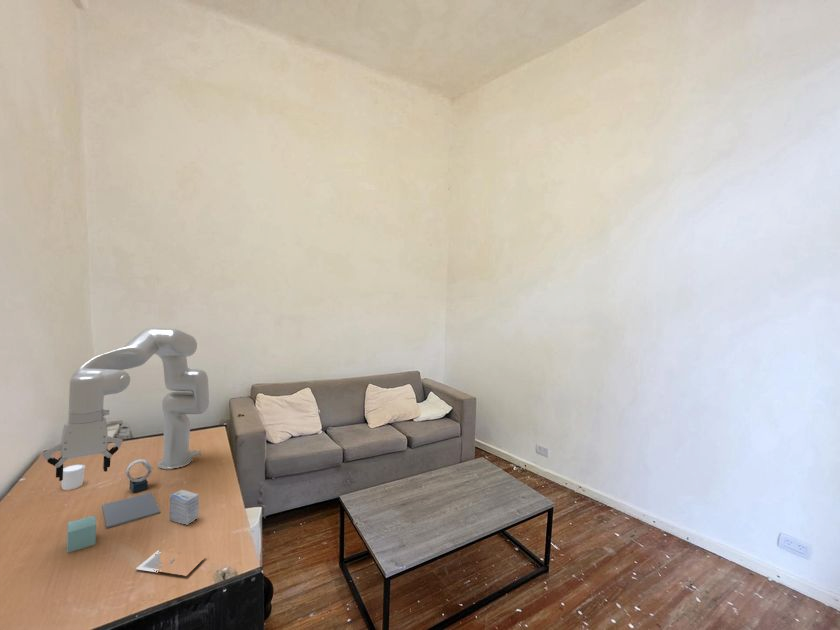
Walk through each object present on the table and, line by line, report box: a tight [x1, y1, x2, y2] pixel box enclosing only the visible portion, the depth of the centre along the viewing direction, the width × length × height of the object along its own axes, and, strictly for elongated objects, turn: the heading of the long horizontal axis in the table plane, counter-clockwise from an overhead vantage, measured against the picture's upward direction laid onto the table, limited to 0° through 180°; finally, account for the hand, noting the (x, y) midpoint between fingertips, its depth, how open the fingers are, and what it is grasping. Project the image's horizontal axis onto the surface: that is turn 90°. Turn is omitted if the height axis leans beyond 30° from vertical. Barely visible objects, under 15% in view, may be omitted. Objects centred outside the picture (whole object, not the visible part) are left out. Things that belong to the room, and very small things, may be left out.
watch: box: [125, 458, 153, 494], centre depth 140 cm, size 6×8×11 cm
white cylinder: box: [60, 463, 86, 491], centre depth 139 cm, size 7×7×7 cm
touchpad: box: [135, 549, 186, 573], centre depth 103 cm, size 8×15×2 cm, turn 84°
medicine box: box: [169, 489, 200, 526], centre depth 123 cm, size 8×4×9 cm, turn 71°
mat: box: [101, 492, 161, 530], centre depth 127 cm, size 14×16×1 cm
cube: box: [66, 515, 97, 554], centre depth 109 cm, size 6×6×6 cm
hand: (83, 474), depth 108 cm, fingers open, 9 cm apart
